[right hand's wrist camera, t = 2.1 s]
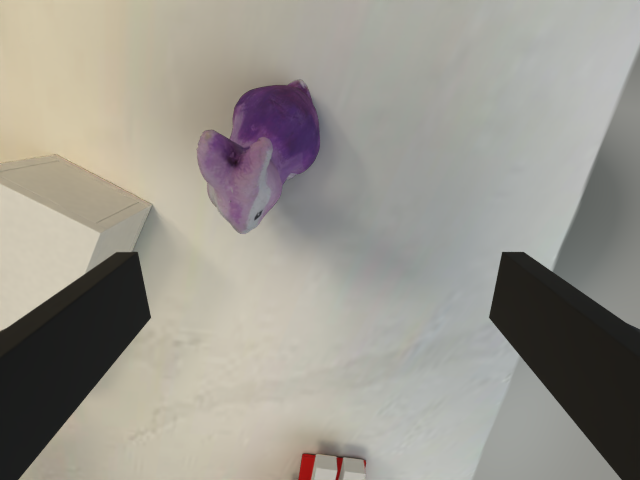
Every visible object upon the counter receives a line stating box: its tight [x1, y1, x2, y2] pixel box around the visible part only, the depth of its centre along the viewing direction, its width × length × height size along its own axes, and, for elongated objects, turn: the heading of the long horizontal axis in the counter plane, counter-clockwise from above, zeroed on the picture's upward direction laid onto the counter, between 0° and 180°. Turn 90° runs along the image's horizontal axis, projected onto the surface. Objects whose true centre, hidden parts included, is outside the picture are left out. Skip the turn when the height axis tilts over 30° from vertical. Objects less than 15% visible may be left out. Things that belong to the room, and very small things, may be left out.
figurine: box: [197, 80, 320, 234], centre depth 27 cm, size 9×10×15 cm
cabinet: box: [0, 154, 152, 331], centre depth 34 cm, size 22×10×9 cm, turn 150°
